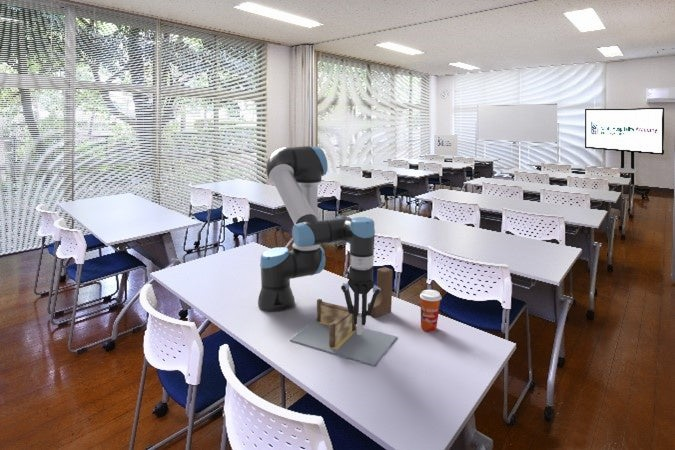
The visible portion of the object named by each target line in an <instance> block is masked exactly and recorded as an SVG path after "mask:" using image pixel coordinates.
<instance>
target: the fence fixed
mask: <svg viewBox="0 0 675 450" xmlns="http://www.w3.org/2000/svg"><path fill="white" fill-rule="evenodd" d="M353 309H354V304H353ZM347 311H348V308H347V306H343V305H338V304H335V303H330V302H326V301H323V299H321V298H319V299H316V319H317V322H323V323H327V324H330V323H332V322H334V321H335V320H336V319H338V318H339V317H340V316H342V315H343V314H344V313H346V312H347ZM356 326H357V324H354V315H353V314H352V331H355V330H356Z"/></svg>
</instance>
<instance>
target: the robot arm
mask: <svg viewBox="0 0 675 450" xmlns="http://www.w3.org/2000/svg"><path fill="white" fill-rule="evenodd" d="M267 159H268V160H267V162H266V167H265V170H266V175H267V179H268V181H269V183H271V185H274V187H275V188H276V190H277V192H278V194H279V197H280V198H281V200H282V203H283V204H284V206H285V208H286V211H287V212H288V215H289V217H290V219H291V220H292V223H293V224H294V225H293V226H292V229H291V235H292V240H293V243H292V250H290V249H289V248H287V247H283V246H281V247H279V246H278V247H273V248H269V249H266V250H265V251H263V253H261V255H260V264H259V267H260V281H261V288H260V292H259V295H258V299H257V307H258V308H259V309H260V310H263V311H265V312H271V313H273V312H274V313H276V312H284V311H287V310H290V309H291V308H293V307H294V305H295V296H294V293H293V290H292V288H291V282H290V281H291V279H296V278H297V279H298V278H304V277H308V276H311V277H312V276H314V275H318V274H320V273H321V272H322V271H323V270H324V269H325V265H326V255H325V249H324V248H323V247H322V246H321V245H324V244H325V245H326V244H331V243H333V244H334V243H340V242H346V243H347V244H349V275H348V276H349V279H348V281H347V282H346V283H342V285H341V286H340V289H341V291H342V292H343V294H344V299H345V304H346V307H347V308H348V312H349V313H350V314H353V315H354V324H356V326H357V335H361V334H362V331H363V328H364V327H363V326H365V325H366V324H367V316H369V317H370V316H371V313H372V310H373V306H374V303H375V300H376V297H377V295H378V294H379V293H380V290H381V288H380V287H377V284H375V281H374V261H375V260H374V259H375V258H374V257H375V254H374V252H375V234H376V230H375V221H374V220H373V218H370V217H365V216H364V217H363V216H359V217H354V218H351V217H349V216H347V215H342V214H341V215H337V216H335V217H334V218H332V219H325V220H318V190H319V189H318V188H319V187H318V185H319V184H321V182H322V177H324V176H325V175H327V172H328V160H327V159H328V158H327V157H326V154H325V151H324V150H323V149H322V148H321V147H320V146H309V145H307V146H306V145H304V146H284V147H280V148H278V149H276V150H275V151H273V152H272V153H271V154H270V156H269V157H268V158H267ZM350 289H351V291H352V292H353V297H354V298H353V301H352V297H351V291H350ZM371 290H372V293H373V294H372V297H371V301H370V302H371V303H370V302H369V303H370V306H369V309H368V294H369V292H370V291H371ZM360 295H361V312H360ZM353 305H354V309H353Z"/></svg>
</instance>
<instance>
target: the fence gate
mask: <svg viewBox="0 0 675 450" xmlns="http://www.w3.org/2000/svg"><path fill="white" fill-rule="evenodd" d="M351 331H352V314H350V313H349V312H348V311H347V312H346V313H344V314H343V315H342V316H340V317H339V318H338V319H336V320H335V321H334V322H332V323H330V324H329V346H330V347H335V345H336V344H337V343H338V342H339V341H340V340H342V339H343V338H344V337H345V336H346V335H348V334H349V333H350V332H351Z"/></svg>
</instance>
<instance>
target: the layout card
mask: <svg viewBox="0 0 675 450" xmlns="http://www.w3.org/2000/svg"><path fill="white" fill-rule="evenodd" d="M397 338H398V336H397V335H394V334H393V335H392V334H389V333H385V332H381V331H379V330H378V331H377V330H373V329H369V328H366V327H363V331H362V334H361V335H357V325H356V330H355V331H351V332H350V333H349V334H348V335H346V336H345V337H344V338H343V339H342V340H340V341H339V342H338V343H337V344H336V345H335V347H330V346H329V324H327V323H323V322H317V318H316V319H314V320H313V321H312V322H310V323H309V324H308V325H307V326H305V327H304V328H302V329H301V330H300V331H299V332H298V333H297V334H295V335H294V336H292V338H290V339H289V342H292V343H294V344H299V345H302V346H305V347H308V348H311V349H315V350H319V351H322V352H325V353H329V354H332V355H335V356H339V357H342V358H346V359H347V360H348V359H349V360H352V361H356V362H359V363H363V364H366V365H368V366H372V367H375V366H376V365H377V364H378V363H379V361H380V360H381V359H382V357H383V356H384V355H385V353H386V352H387V351H388V350H389V349H390V347H391V346H392V344H393V343H394V342H395V341H396V339H397Z"/></svg>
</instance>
